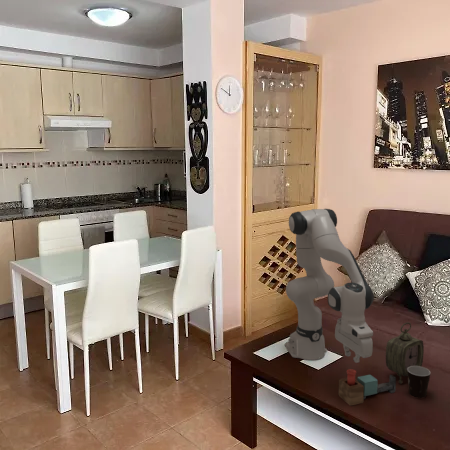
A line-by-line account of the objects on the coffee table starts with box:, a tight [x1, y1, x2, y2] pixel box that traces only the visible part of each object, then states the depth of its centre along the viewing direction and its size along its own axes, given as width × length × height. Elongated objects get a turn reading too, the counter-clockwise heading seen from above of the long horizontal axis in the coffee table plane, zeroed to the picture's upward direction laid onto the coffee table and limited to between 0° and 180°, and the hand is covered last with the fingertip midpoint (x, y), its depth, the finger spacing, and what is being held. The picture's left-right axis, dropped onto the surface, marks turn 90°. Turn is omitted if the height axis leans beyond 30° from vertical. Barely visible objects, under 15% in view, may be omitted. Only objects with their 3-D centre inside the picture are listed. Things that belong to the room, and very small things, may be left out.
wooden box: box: [338, 377, 364, 407], centre depth 184 cm, size 8×6×7 cm
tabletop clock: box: [385, 322, 425, 384], centre depth 199 cm, size 14×9×25 cm, turn 123°
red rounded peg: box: [346, 368, 357, 386], centre depth 183 cm, size 4×4×6 cm
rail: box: [363, 374, 397, 400], centre depth 188 cm, size 4×17×6 cm, turn 109°
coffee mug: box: [407, 366, 431, 399], centre depth 185 cm, size 12×9×10 cm
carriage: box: [356, 374, 379, 397], centre depth 186 cm, size 5×6×6 cm
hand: (352, 358), depth 182 cm, fingers open, 4 cm apart
